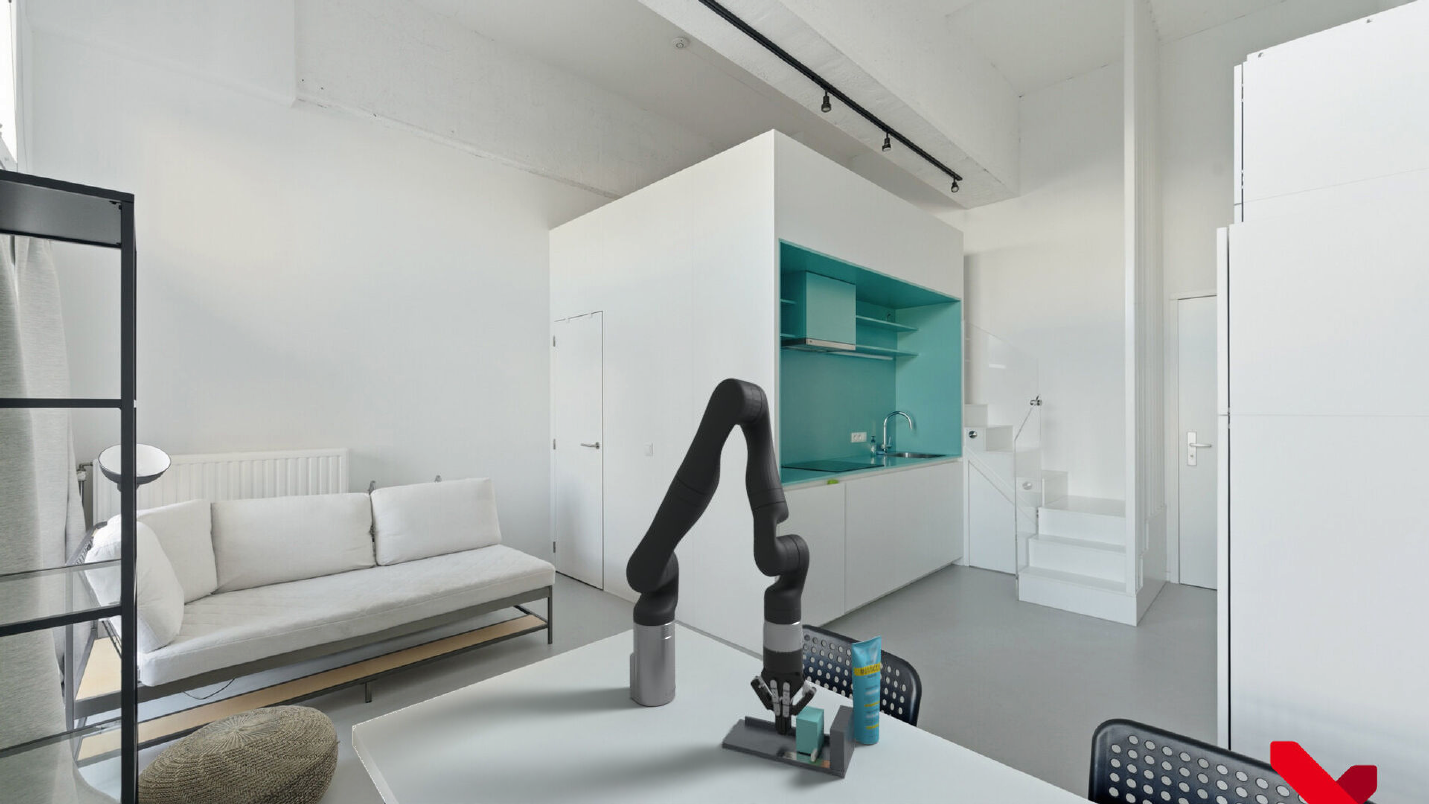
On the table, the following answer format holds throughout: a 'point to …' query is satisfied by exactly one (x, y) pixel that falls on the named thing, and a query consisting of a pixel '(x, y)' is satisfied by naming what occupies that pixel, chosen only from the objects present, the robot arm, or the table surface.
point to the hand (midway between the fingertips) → (783, 733)
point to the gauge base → (770, 745)
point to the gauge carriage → (810, 731)
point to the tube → (866, 689)
